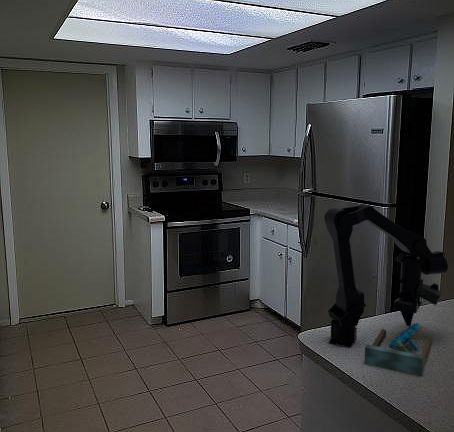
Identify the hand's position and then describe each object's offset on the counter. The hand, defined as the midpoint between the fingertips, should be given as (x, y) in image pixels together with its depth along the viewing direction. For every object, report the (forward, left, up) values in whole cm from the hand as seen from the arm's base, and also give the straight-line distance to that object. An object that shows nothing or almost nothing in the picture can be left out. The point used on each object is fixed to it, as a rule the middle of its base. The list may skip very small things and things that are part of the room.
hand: (408, 325), depth 139 cm
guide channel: (0, -14, -3) cm, 14 cm away
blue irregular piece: (0, -10, -3) cm, 11 cm away
